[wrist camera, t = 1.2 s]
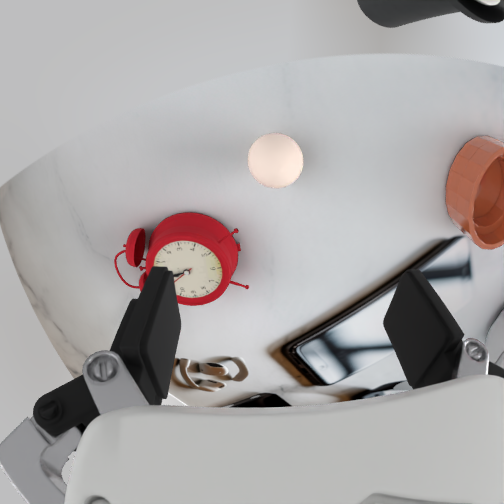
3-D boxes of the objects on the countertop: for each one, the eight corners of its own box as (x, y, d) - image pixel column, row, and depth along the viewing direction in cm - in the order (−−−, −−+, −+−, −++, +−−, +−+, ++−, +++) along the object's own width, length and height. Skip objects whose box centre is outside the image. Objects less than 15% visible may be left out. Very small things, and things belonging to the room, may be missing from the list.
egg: (250, 126, 25) (250, 136, 20) (300, 132, 26) (315, 144, 20) (245, 173, 28) (244, 197, 22) (293, 178, 28) (305, 203, 22)
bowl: (454, 122, 24) (485, 133, 19) (514, 148, 24) (540, 161, 20) (431, 225, 31) (454, 247, 26) (491, 231, 31) (512, 251, 27)
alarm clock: (254, 301, 32) (129, 332, 30) (243, 271, 37) (134, 299, 35) (238, 217, 26) (90, 257, 24) (227, 196, 32) (103, 230, 30)
